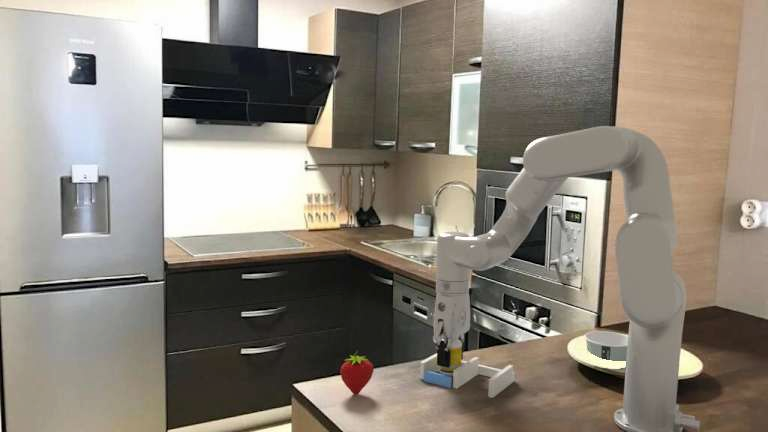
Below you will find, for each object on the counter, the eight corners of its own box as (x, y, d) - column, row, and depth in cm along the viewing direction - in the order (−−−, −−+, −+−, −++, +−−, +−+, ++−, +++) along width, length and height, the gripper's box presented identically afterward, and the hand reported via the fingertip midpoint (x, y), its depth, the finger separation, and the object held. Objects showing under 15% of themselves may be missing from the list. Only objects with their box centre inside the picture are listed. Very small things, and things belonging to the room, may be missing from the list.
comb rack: (514, 381, 149) (514, 364, 148) (491, 398, 138) (492, 381, 138) (444, 364, 159) (445, 348, 158) (418, 379, 148) (418, 362, 148)
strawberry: (378, 396, 139) (379, 351, 137) (347, 402, 135) (347, 356, 134) (365, 386, 144) (366, 343, 142) (334, 392, 140) (335, 348, 139)
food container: (635, 374, 155) (637, 348, 154) (583, 368, 158) (585, 342, 157) (630, 358, 167) (632, 333, 166) (582, 353, 170) (583, 329, 169)
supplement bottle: (465, 374, 149) (466, 333, 147) (444, 377, 147) (445, 335, 145) (454, 366, 154) (455, 326, 152) (433, 369, 152) (434, 328, 150)
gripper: (449, 295, 138) (446, 376, 141) (483, 281, 153) (480, 355, 155) (419, 290, 143) (417, 369, 145) (455, 277, 157) (452, 349, 159)
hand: (449, 361), depth 150 cm, fingers closed on supplement bottle, 5 cm apart
